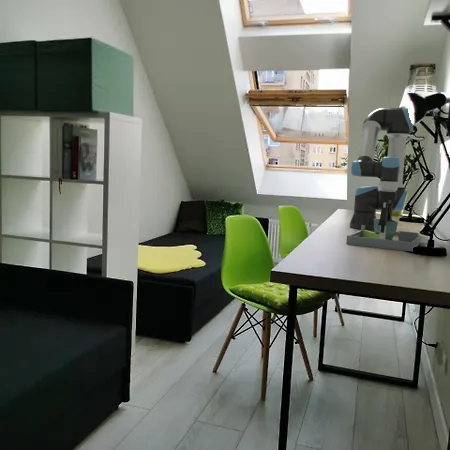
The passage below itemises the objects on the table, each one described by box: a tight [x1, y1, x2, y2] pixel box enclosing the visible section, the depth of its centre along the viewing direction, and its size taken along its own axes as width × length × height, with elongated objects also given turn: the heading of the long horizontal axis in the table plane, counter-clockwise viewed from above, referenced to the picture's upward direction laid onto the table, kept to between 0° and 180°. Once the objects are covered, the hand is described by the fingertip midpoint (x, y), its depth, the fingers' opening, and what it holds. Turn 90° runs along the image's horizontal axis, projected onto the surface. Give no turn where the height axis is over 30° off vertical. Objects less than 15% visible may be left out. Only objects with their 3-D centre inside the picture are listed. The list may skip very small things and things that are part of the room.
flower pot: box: [373, 218, 399, 240], centre depth 220 cm, size 9×9×9 cm
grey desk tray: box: [346, 225, 422, 252], centre depth 206 cm, size 24×26×6 cm
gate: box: [363, 229, 380, 239], centre depth 214 cm, size 2×12×5 cm, turn 11°
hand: (384, 238), depth 221 cm, fingers closed on flower pot, 11 cm apart
